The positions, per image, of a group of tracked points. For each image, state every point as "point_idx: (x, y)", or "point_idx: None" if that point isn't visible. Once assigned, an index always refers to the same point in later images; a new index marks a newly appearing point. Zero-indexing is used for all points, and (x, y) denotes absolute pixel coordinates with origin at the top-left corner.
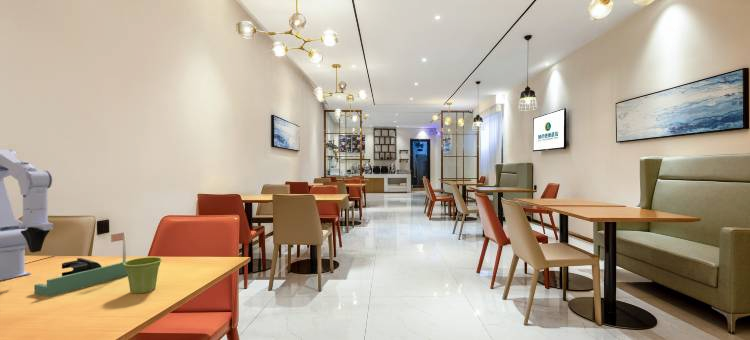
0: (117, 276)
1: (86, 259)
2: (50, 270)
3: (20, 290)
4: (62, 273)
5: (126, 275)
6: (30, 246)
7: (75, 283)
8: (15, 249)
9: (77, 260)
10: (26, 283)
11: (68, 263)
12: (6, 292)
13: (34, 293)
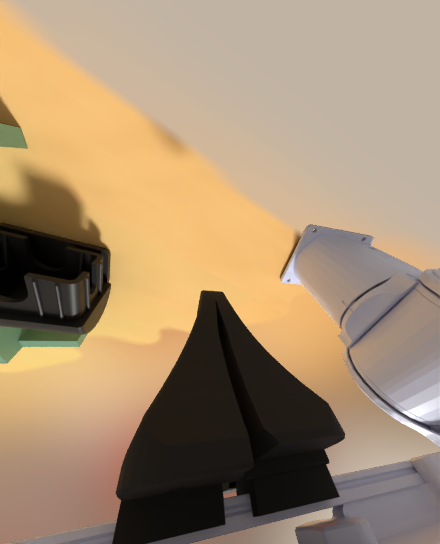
0: None
1: (24, 327)
2: (265, 306)
3: (133, 156)
4: (92, 262)
5: None
6: (211, 310)
7: None
8: (352, 310)
9: (59, 316)
10: (207, 223)
11: (35, 286)
12: (154, 122)
13: (18, 127)
